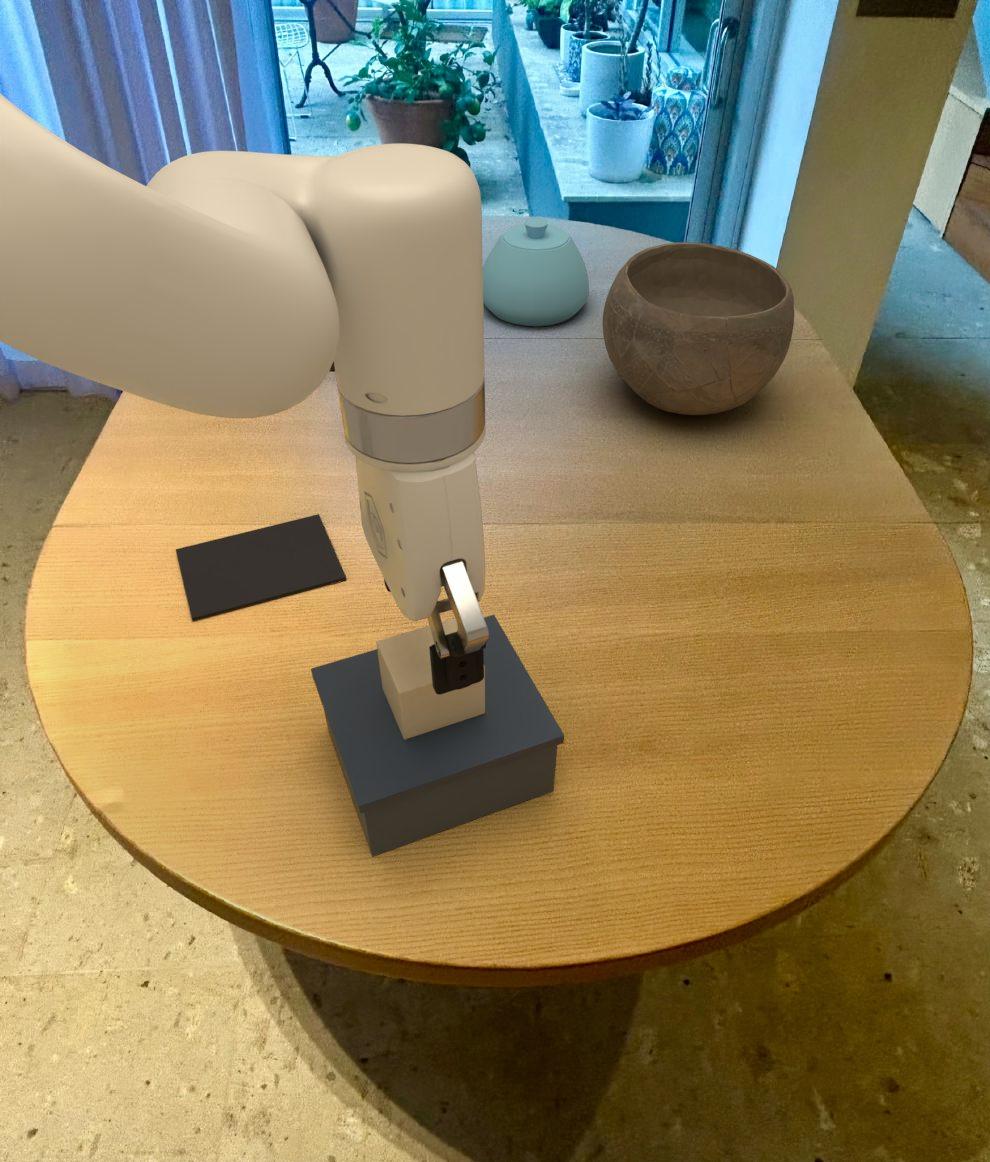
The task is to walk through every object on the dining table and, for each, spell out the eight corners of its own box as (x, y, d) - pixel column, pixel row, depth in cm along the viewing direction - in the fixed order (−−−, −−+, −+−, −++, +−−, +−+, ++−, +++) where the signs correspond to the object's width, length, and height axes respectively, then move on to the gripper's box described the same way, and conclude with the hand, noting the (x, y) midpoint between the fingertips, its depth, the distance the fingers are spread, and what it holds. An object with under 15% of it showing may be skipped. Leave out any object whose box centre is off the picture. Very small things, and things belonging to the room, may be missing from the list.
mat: (192, 621, 78) (191, 618, 78) (176, 552, 85) (175, 549, 85) (346, 580, 82) (345, 576, 82) (319, 517, 89) (318, 513, 89)
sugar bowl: (495, 276, 129) (496, 194, 121) (597, 288, 126) (604, 206, 119) (465, 322, 119) (463, 237, 111) (575, 337, 116) (581, 250, 108)
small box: (404, 740, 60) (398, 693, 57) (382, 688, 64) (376, 640, 60) (485, 713, 62) (485, 666, 59) (460, 663, 65) (458, 616, 62)
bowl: (809, 421, 102) (845, 297, 91) (651, 461, 96) (670, 334, 86) (709, 339, 116) (731, 223, 105) (566, 370, 110) (574, 251, 100)
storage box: (369, 862, 61) (358, 806, 57) (323, 726, 70) (310, 668, 65) (559, 792, 66) (564, 735, 61) (494, 673, 74) (494, 614, 69)
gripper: (303, 347, 51) (341, 565, 63) (396, 523, 40) (421, 751, 51) (426, 322, 53) (440, 538, 65) (548, 483, 42) (539, 710, 53)
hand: (432, 632), depth 58 cm, fingers open, 9 cm apart
